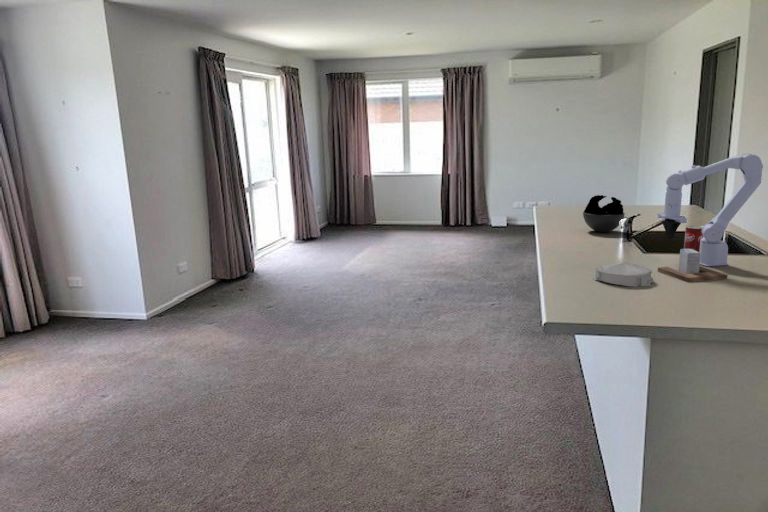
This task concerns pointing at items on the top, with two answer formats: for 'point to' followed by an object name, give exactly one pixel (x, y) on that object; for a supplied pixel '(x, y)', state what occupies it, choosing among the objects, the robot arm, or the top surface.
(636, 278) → the food container
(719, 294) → the top surface
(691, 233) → the soda can
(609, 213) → the coal bowl
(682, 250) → the medicine box
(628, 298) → the top surface
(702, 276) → the notched board
